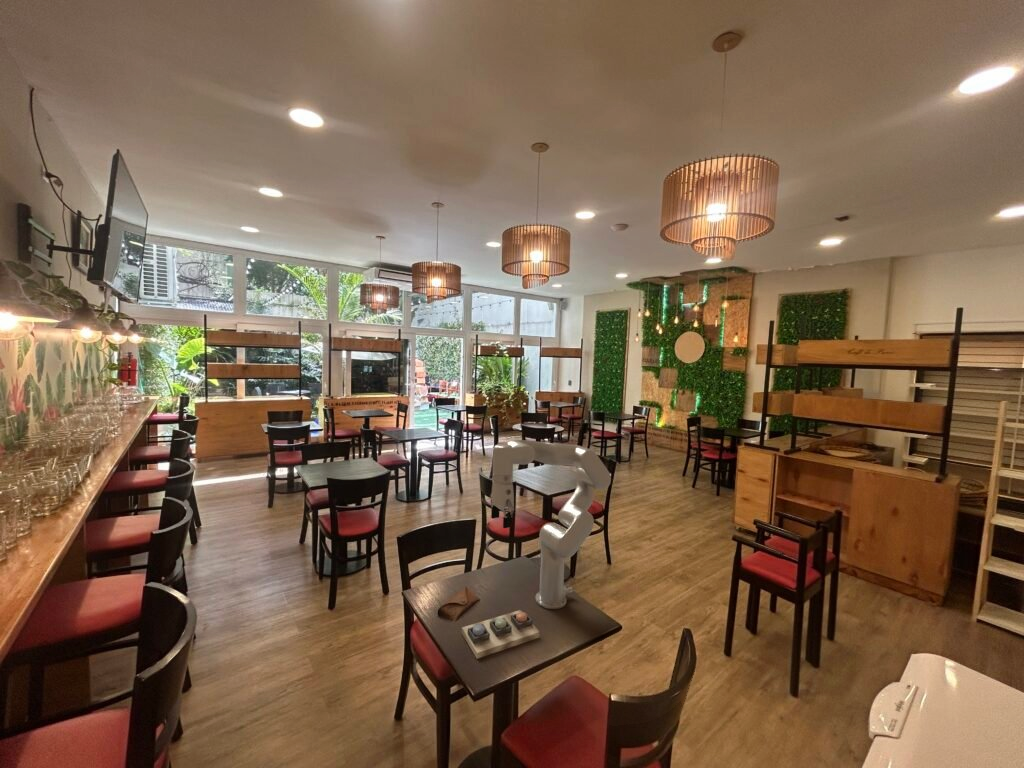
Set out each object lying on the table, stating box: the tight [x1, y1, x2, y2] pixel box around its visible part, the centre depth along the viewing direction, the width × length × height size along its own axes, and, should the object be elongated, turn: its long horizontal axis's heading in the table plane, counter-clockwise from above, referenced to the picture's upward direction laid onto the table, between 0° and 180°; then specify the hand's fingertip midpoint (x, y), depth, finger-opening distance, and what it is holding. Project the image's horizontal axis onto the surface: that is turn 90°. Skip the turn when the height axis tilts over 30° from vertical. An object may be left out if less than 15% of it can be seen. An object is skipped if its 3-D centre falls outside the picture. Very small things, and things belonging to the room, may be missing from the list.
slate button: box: [473, 625, 485, 637], centre depth 143 cm, size 4×4×2 cm
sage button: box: [495, 618, 506, 630], centre depth 147 cm, size 4×4×2 cm
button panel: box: [461, 609, 541, 659], centre depth 147 cm, size 24×14×4 cm, turn 118°
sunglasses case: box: [437, 586, 481, 622], centre depth 163 cm, size 18×7×7 cm
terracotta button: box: [516, 611, 528, 623], centre depth 151 cm, size 4×4×2 cm
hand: (501, 522), depth 155 cm, fingers open, 9 cm apart
